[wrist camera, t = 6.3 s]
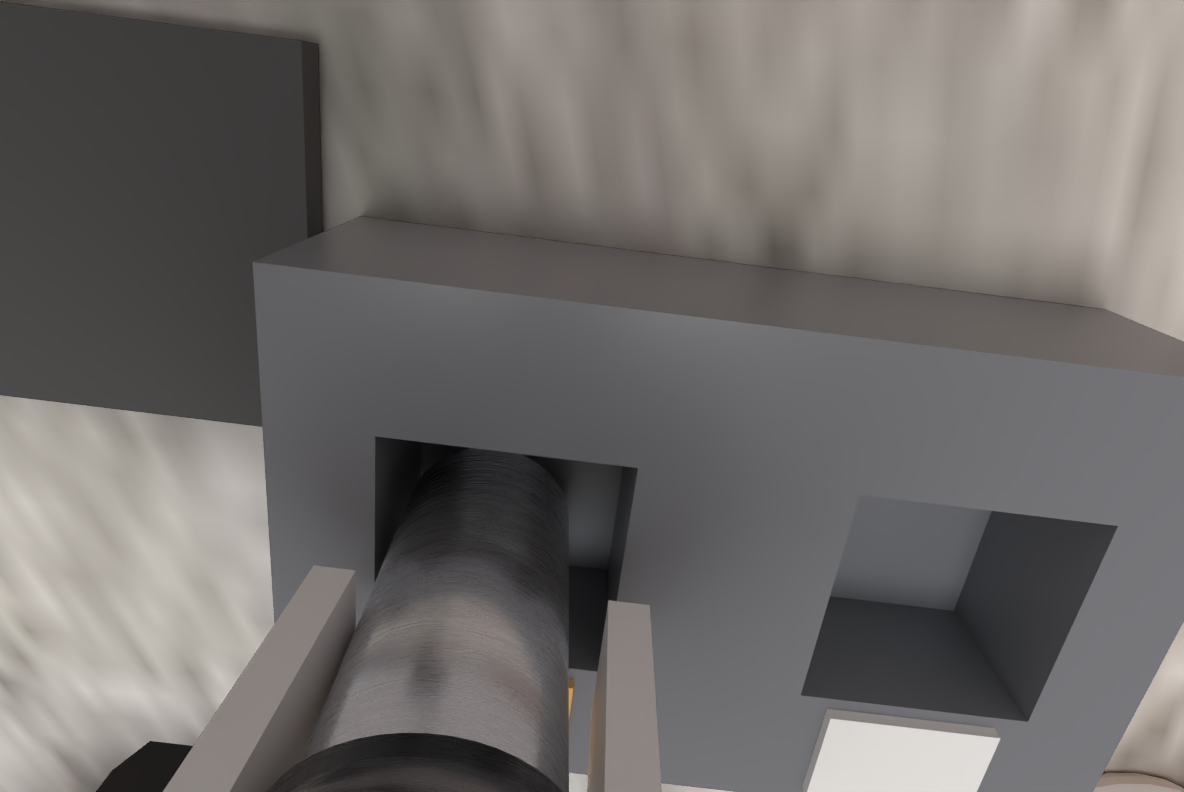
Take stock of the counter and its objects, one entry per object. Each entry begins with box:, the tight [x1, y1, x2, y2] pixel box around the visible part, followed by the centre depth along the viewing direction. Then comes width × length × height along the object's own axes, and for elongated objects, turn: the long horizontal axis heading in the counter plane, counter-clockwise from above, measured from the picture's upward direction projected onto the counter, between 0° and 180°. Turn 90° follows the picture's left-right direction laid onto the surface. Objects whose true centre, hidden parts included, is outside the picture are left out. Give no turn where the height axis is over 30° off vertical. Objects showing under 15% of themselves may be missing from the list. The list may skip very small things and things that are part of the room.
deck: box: [0, 2, 323, 427], centre depth 19 cm, size 10×10×1 cm
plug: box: [267, 448, 569, 792], centre depth 13 cm, size 5×5×10 cm
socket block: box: [253, 217, 1184, 792], centre depth 18 cm, size 12×20×6 cm, turn 83°
